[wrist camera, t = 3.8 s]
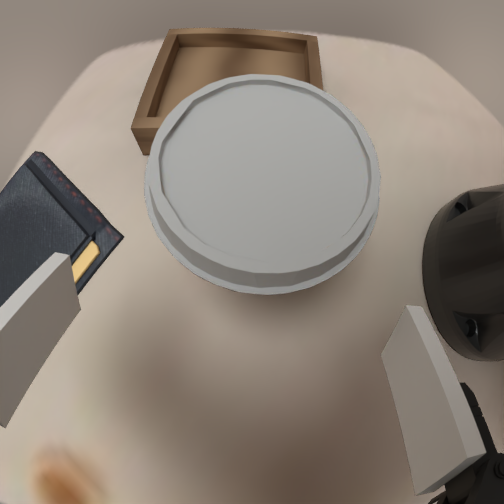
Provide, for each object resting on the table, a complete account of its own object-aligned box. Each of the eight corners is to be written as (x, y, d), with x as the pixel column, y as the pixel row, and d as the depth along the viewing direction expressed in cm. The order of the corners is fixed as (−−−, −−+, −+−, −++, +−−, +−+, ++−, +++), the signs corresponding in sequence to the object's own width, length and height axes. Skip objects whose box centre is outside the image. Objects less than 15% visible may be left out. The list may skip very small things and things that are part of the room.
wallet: (34, 139, 23) (125, 236, 21) (43, 149, 25) (133, 244, 23) (-71, 291, 19) (-7, 414, 17) (-59, 294, 20) (5, 411, 18)
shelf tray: (310, 63, 28) (317, 36, 24) (315, 165, 24) (326, 139, 21) (174, 56, 27) (169, 29, 24) (143, 155, 24) (130, 128, 20)
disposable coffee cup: (268, 165, 24) (288, 45, 13) (344, 264, 22) (434, 195, 11) (162, 229, 23) (99, 133, 11) (234, 342, 21) (229, 350, 9)
